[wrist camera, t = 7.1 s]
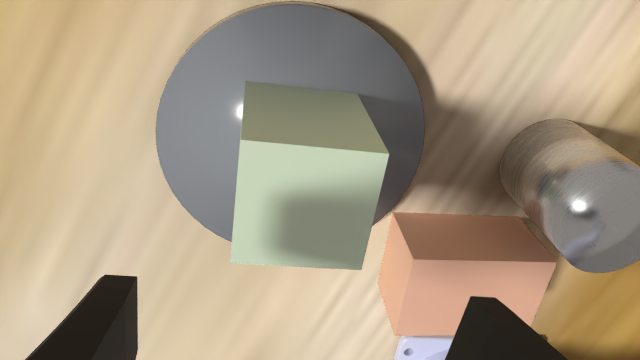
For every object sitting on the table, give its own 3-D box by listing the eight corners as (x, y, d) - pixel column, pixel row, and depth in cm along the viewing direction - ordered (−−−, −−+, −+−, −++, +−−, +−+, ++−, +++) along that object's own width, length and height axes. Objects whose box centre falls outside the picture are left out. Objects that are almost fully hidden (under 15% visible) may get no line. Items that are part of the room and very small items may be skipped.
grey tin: (567, 205, 22) (641, 276, 18) (487, 197, 22) (544, 269, 17) (604, 124, 21) (697, 181, 16) (518, 113, 20) (591, 170, 16)
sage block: (338, 189, 19) (361, 270, 15) (236, 181, 19) (229, 263, 14) (356, 93, 18) (389, 153, 13) (245, 80, 17) (240, 139, 13)
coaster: (385, 246, 22) (391, 260, 22) (158, 230, 21) (154, 244, 20) (447, 23, 18) (457, 29, 17) (162, -22, 16) (157, -18, 15)
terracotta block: (493, 282, 24) (526, 335, 21) (377, 280, 24) (394, 335, 21) (517, 214, 23) (557, 262, 20) (391, 210, 22) (413, 259, 19)
